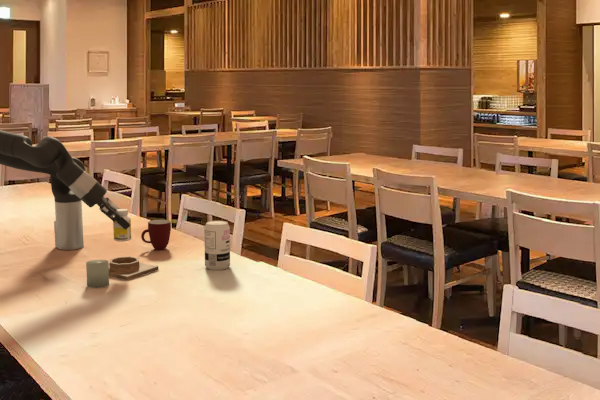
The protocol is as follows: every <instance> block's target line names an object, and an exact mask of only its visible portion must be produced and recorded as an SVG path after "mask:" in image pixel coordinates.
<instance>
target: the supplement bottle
mask: <svg viewBox="0 0 600 400" xmlns="http://www.w3.org/2000/svg"><path fill="white" fill-rule="evenodd" d="M117 210H118V211H117V212H118V213H119V214H120V215H121V216H122V217H123V218H124V219H125V220H126V221H127V222H128V223H129V224H130V226H129V227H128V228H127V229H126V230H125V229H124V228H123V227H122V226H121V225H119V224H118V223H117V222H113V221H112V222H113V223H112V225H113V228H112V229H113V241H115V242H118V243H119V242H121V243H122V242H129V241H131V240H132V221H131V216H130V215H129V209H128V208H120V209H117Z"/></svg>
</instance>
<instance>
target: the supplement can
mask: <svg viewBox="0 0 600 400" xmlns="http://www.w3.org/2000/svg"><path fill="white" fill-rule="evenodd" d="M203 228H204V233H203V234H204V239H203V240H204V267H206V269H208V270H212V271H223V270H226V269H228V268H229V267H230V266H231V226H230V225H229V223H228V221H226V220H209V221H207V222H206V223H205V225H204V227H203Z"/></svg>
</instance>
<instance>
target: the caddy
mask: <svg viewBox="0 0 600 400" xmlns="http://www.w3.org/2000/svg"><path fill="white" fill-rule="evenodd" d="M108 265H109V278H115V279H119V280H124V281H129V280H132V279H136V278H139V277H142V276H144V275H147V274H150V273H153V272H156V271H159V265H154V264H148V263H144V262H140V258H139V257H135V256H131V255H130V256H117V257H114V258H110V259H109V261H108Z"/></svg>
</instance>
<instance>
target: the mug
mask: <svg viewBox="0 0 600 400" xmlns="http://www.w3.org/2000/svg"><path fill="white" fill-rule="evenodd" d="M171 230H172V222H171V220H168V219H153V220H149V221H148V222H147V229H144V230H143V231H142V232H141V240H142V242H144V243H146V244H151V246H152V247H153V249H154V250H155V251H163V250H166V249H167V247H168V245H169V243H170V237H171ZM147 233H148V236H149V240H146V239H145V234H147Z"/></svg>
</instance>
